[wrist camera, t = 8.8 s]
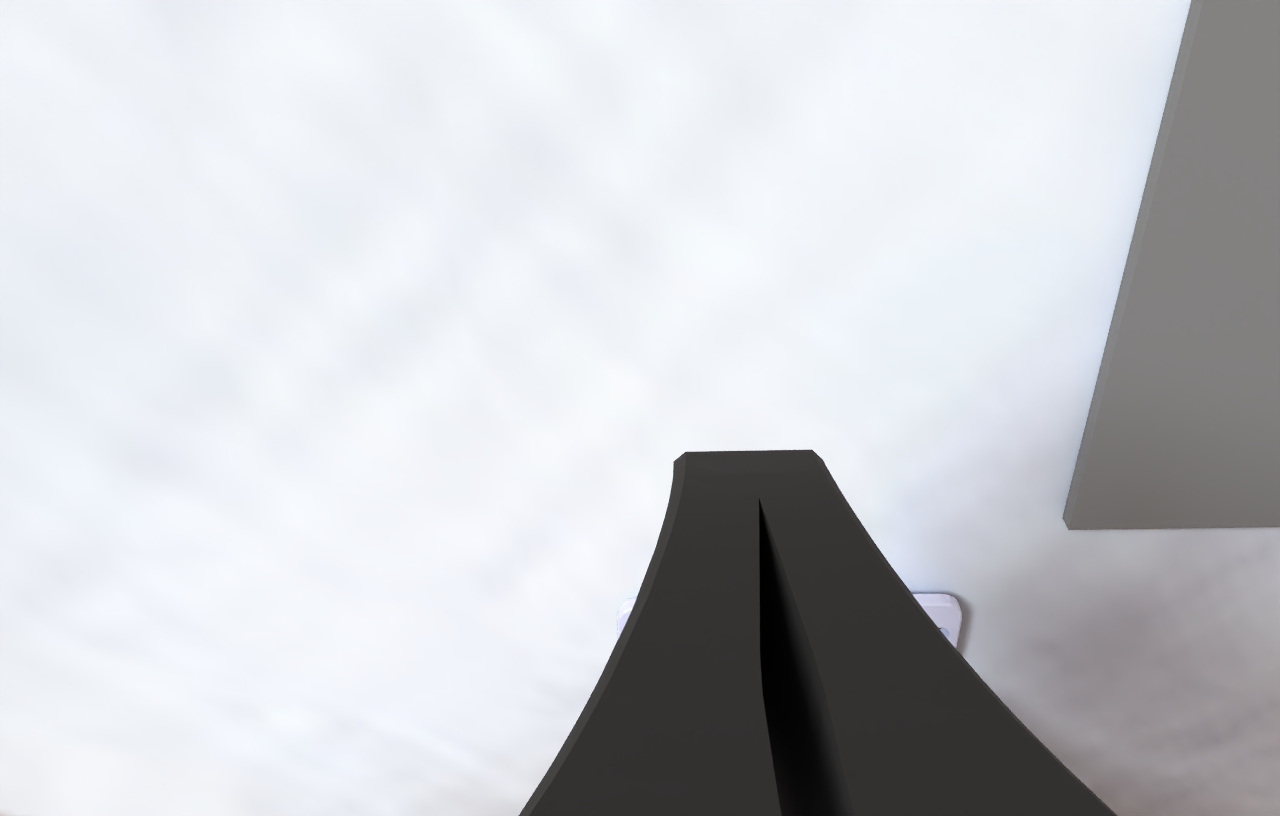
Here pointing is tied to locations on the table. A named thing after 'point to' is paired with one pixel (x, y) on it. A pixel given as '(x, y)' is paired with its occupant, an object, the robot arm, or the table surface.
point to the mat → (1198, 301)
